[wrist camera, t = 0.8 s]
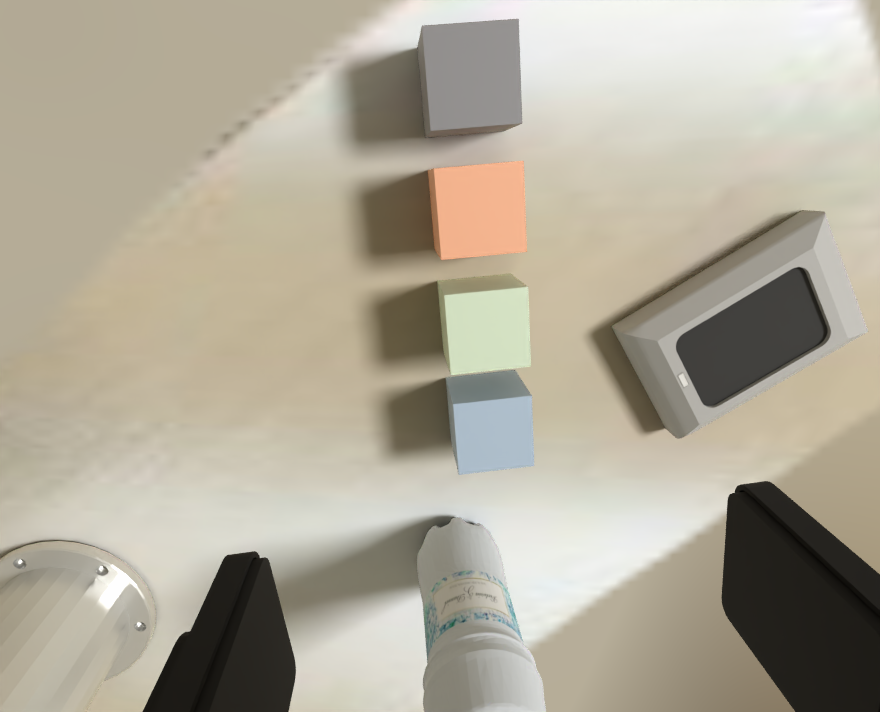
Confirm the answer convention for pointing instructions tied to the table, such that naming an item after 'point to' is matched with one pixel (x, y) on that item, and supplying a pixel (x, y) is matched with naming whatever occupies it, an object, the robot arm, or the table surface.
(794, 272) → the gray dark-screened device
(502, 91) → the gray block
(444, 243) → the terracotta block
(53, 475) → the table surface
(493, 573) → the bottle
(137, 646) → the robot arm
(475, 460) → the slate-blue block
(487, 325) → the sage-green block
